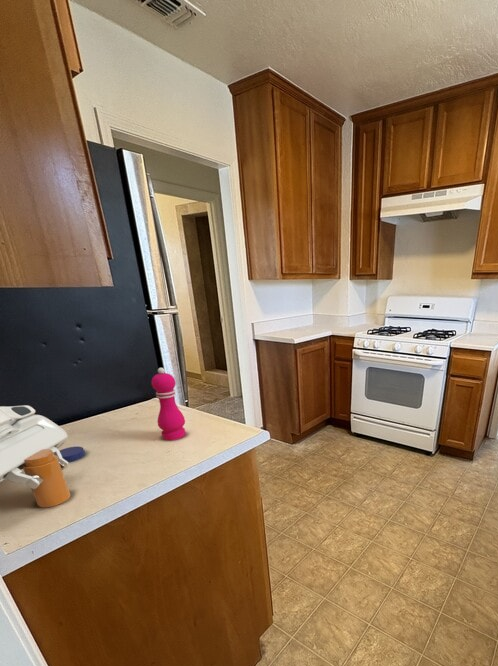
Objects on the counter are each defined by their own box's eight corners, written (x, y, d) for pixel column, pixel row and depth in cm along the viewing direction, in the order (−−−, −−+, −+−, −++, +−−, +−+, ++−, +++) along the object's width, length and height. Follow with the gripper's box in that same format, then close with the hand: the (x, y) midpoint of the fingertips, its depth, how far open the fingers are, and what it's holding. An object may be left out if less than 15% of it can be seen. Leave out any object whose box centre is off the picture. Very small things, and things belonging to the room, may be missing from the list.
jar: (32, 509, 69) (13, 463, 65) (43, 494, 74) (26, 450, 70) (65, 504, 71) (48, 458, 67) (74, 490, 76) (59, 446, 72)
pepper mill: (187, 429, 107) (175, 363, 99) (187, 438, 100) (174, 369, 93) (161, 433, 104) (146, 366, 96) (160, 442, 98) (144, 371, 90)
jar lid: (90, 451, 93) (88, 446, 93) (73, 462, 88) (72, 457, 87) (68, 451, 94) (66, 446, 93) (50, 462, 88) (48, 456, 87)
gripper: (-65, 443, 56) (16, 495, 60) (35, 402, 75) (93, 444, 79) (-79, 467, 58) (0, 516, 62) (22, 422, 77) (79, 462, 80)
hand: (53, 475), depth 70 cm, fingers closed on jar, 5 cm apart
